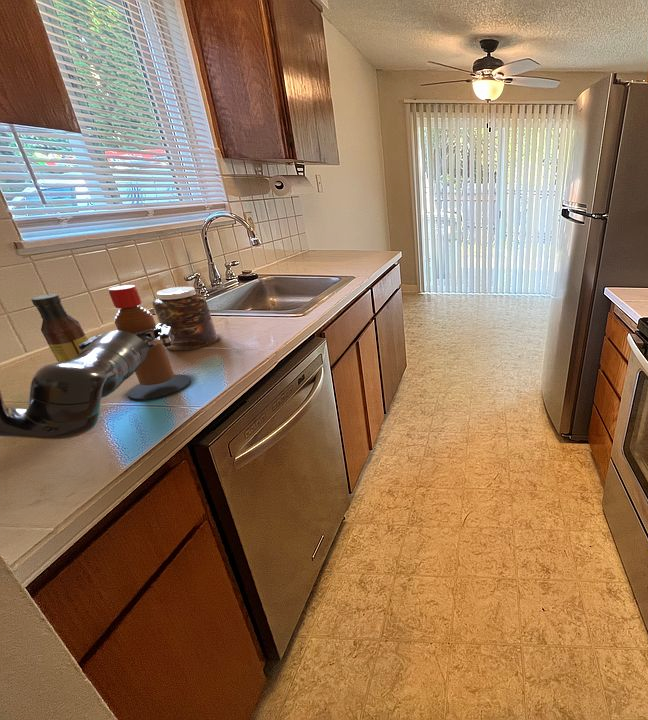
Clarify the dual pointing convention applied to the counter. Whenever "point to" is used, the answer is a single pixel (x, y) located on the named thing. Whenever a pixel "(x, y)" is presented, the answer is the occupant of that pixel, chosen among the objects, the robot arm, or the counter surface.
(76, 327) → the sauce bottle
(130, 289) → the cap
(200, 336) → the jar
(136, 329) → the bottle
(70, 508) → the counter surface
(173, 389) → the coaster
